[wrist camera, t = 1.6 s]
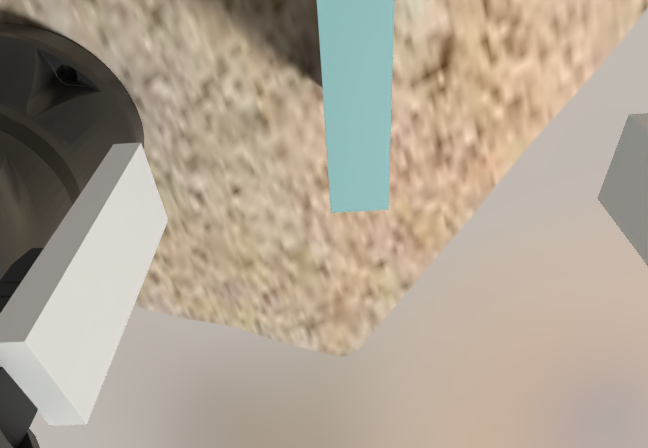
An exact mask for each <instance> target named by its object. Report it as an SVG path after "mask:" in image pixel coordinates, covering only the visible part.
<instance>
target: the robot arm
mask: <svg viewBox="0 0 648 448" xmlns="http://www.w3.org/2000/svg"><path fill="white" fill-rule="evenodd" d="M598 200H599V201H600V202H601V204H602V205H603V206H604V208H605V209H606V210H607V212H608V213H609V214H610V216H611V217H612V218H613V220H614V221H615V222H616V224H617V225H618V226H619V228H620V229H621V231H622V232H623V233H624V235H625V236H626V237H627V239H628V240H629V241H630V243H631V244H632V245H633V247H634V248H635V249H636V251H637V252H638V253H639V255H640V256H641V257H642V259H643V260H644V261H645V263H646V264H647V265H648V114H631V115H629V116H628V118H627V121H626V124H625V126H624V129H623V132H622V134H621V137H620V140H619V142H618V145H617V148H616V150H615V153H614V156H613V158H612V161H611V164H610V167H609V169H608V172H607V175H606V178H605V180H604V183H603V185H602V188H601V191H600V193H599V196H598ZM167 222H168V219H167V216H166V213H165V210H164V207H163V204H162V201H161V199H160V196H159V193H158V190H157V187H156V184H155V181H154V178H153V176H152V173H151V170H150V167H149V164H148V161H147V158H146V156H145V153H144V133H143V127H142V122H141V119H140V116H139V113H138V111H137V108H136V106H135V104H134V102H133V100H132V98H131V97H130V95H129V93H128V92H127V90H126V89H125V88H124V86H123V85H122V83H121V82H120V81H119V80H118V79H117V77H116V76H115V75H114V74H113V73H112V72H111V71H110V70H109V69H108V68H107V67H106V66H105V65H104V64H103V63H102V62H100V61H99V60H98V59H97V58H96V57H94V56H93V55H92V54H90V53H89V52H88V51H86V50H85V49H83V48H82V47H80V46H78V45H77V44H75V43H73V42H71V41H69V40H68V39H65V38H63V37H61V36H59V35H57V34H54V33H51V32H49V31H46V30H43V29H39V28H35V27H31V26H26V25H18V24H0V448H40V447H39V445H38V442H37V439H36V437H35V435H34V434H33V433H32V431H31V430H30V429H29V427H30V425H31V423H32V421H33V419H34V417H35V415H36V413H37V411H38V412H39V413H40V414H41V416H42V417H43V418H44V419H45V420H46V421H47V423H48V424H49V425H50V426H54V425H85V424H87V422H88V419H89V417H90V415H91V412H92V410H93V407H94V404H95V402H96V399H97V397H98V395H99V392H100V390H101V387H102V384H103V382H104V379H105V377H106V374H107V372H108V369H109V367H110V364H111V362H112V359H113V357H114V354H115V352H116V349H117V347H118V344H119V342H120V339H121V337H122V334H123V332H124V329H125V327H126V324H127V322H128V319H129V317H130V314H131V312H132V309H133V307H134V304H135V302H136V299H137V297H138V294H139V292H140V289H141V287H142V284H143V282H144V279H145V277H146V274H147V272H148V269H149V267H150V264H151V262H152V259H153V257H154V254H155V252H156V249H157V247H158V244H159V242H160V239H161V237H162V234H163V232H164V229H165V227H166V224H167Z"/></svg>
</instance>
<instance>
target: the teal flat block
mask: <svg viewBox="0 0 648 448" xmlns="http://www.w3.org/2000/svg"><path fill="white" fill-rule="evenodd" d="M317 13H318V27H319V42H320V57H321V72H322V86H323V101H324V116H325V130H326V145H327V160H328V175H329V189H330V204H331V213H333V212H352V211H371V210H388V203H389V168H390V133H391V98H392V64H393V29H394V0H317Z"/></svg>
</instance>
